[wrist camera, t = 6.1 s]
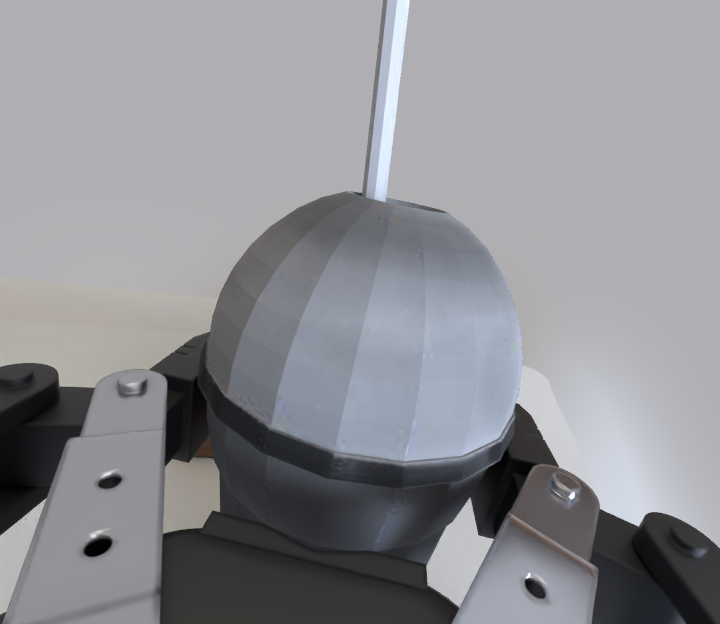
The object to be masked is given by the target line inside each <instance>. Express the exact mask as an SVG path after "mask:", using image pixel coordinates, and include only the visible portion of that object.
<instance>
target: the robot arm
mask: <svg viewBox="0 0 720 624" xmlns="http://www.w3.org/2000/svg"><path fill="white" fill-rule="evenodd" d="M209 336H210V332H208V333H205V334H202V335H199V336H196V337H193V338H192V339H191V340H189V341H188V342H187V343H185V344H184V345H183V346H181V347H180V348H178V349H177V350H175V353H171V354H170V355H169V356H167V357H166V358H164V359H163V360H162V361H160V362H159V363H158V364H156V365H155V366H153V367H152V368H151V369H149V370H143V369H133V370H124V371H120V372H116V373H113V374H111V375H108V376H106V377H104V378H103V379H102V380H100V381H99V382H98V383H97V385H96V387H95V388H83V387H59V377H58V372H57V370H56V369H55V368H53V367H51V366H48V365H44V364H37V363H21V364H13V365H7V366H2V367H0V535H1V534H3V533H4V532H5V531H6V530H8V529H9V528H10V527H11V526H12V525H14V524H15V523H16V522H17V521H19V520H20V519H21V518H22V517H24V516H25V515H26V514H27V513H28V512H30V511H31V510H32V509H33V508H35V507H36V506H37V505H38V504H39V503H41V502H42V501H43V500H44V499H46V498H47V499H46V502H45V505H44V507H43V510H42V513H41V516H40V519H39V521H38V524H37V527H36V530H35V533H34V536H33V538H32V541H31V544H30V547H29V550H28V553H27V555H26V558H25V561H24V564H23V567H22V569H21V572H20V575H19V578H18V581H17V584H16V586H15V589H14V592H13V595H12V598H11V601H10V603H9V606H8V609H7V612H5V613H3V614H1V615H0V624H591V623H592V624H720V548H719V547H717V545H716V544H715V543H713V542H712V541H711V540H710V539H709V538H707V537H706V536H705V535H704V534H703V533H701V532H700V531H698V530H697V529H695V528H694V527H692V526H691V525H689V524H687V523H685V522H683V521H682V520H679V519H677V518H675V517H673V516H670V515H667V514H663V513H657V512H651V513H648V514H647V515H645V517H644V519H643V521H642V522H641V524H640V526H639V527H638V526H636V525H633V524H631V523H629V522H627V521H624V520H622V519H620V518H618V517H616V516H614V515H611V514H609V513H607V512H605V511H603V510H601V509H600V504H599V500H598V498H597V496H596V495H595V493H594V492H593V491H592V489H591V488H590V487H589V486H588V485H587V484H586V483H584V482H583V481H582V480H581V479H579V478H578V477H576V476H575V475H573V474H572V473H570V472H568V471H566V470H564V469H561V468H559V466H558V464H557V462H556V460H555V459H554V457H553V455H552V453H551V451H550V449H549V448H548V446H547V444H546V442H545V440H543V437H542V435H541V433H540V431H539V430H537V428H538V427H537V426H536V424H535V422H534V420H533V418H532V416H531V415H530V414H529V413H528V412H527V411H526V410H525V409H523V408H522V407H521V406H520V405H519V404H515V407H514V413H515V427H514V435H513V437H512V439H511V440H510V442H509V444H508V446H507V448H506V450H505V452H504V454H503V455H502V457H501V459H500V461H498V462H496V463H495V464H493V465H491V466H489V467H488V469H487V471H486V472H485V474H484V476H483V478H482V479H481V481H480V483H479V485H478V487H477V488H476V489H475V491H474V492H473V494H472V495H471V496H470V497H471V502H472V506H473V511H474V516H475V521H476V526H477V530H478V535H480V536H484V537H488V538H492V539H494V541H493V543H492V545H491V547H490V549H489V551H488V553H487V555H486V557H485V559H484V561H483V563H482V565H481V567H480V568H479V570H478V572H477V574H476V576H475V578H474V580H473V582H472V584H471V586H470V588H469V590H468V592H467V594H466V596H465V598H464V600H463V602H462V604H461V606H460V608H459V607H458V606H457V605H455V604H454V603H453V602H452V601H450V600H449V599H448V598H447V597H445V596H444V595H442V594H441V593H439V592H438V591H436V590H435V589H433V588H431V587H430V586H428V585H427V571H426V564H423V563H419V562H415V561H411V560H407V559H403V558H399V557H395V556H391V555H387V554H383V553H380V552H376V551H319V550H313V549H311V548H309V547H307V546H305V545H303V544H301V543H299V542H298V541H296V540H294V539H292V538H290V537H288V536H286V535H285V534H283V533H281V532H279V531H277V530H275V529H273V528H271V527H270V526H268V525H266V524H264V523H260V522H256V521H252V520H248V519H244V518H240V517H236V516H232V515H228V514H224V513H220V512H216V511H212V512H211V514H210V516H209V517H208V519H207V521H206V522H205V524H204V526H203V528H195V529H185V530H178V531H173V532H169V533H165V534H163V514H164V481H165V466H166V465H167V464H168V463H169V462H170V460H171V459H175V460H179V461H183V462H188V463H189V462H190V460H191V459H192V458H193V456H194V455H195V454H196V453H197V451H198V450H199V449H200V447H201V446H202V445H203V444H204V442H205V441H206V440H207V438H208V437H209V436H210V435H209V429H208V424H207V418H206V416H207V400H206V399H205V397H204V395H203V393H202V392H201V390H200V388H199V386H198V385H197V384H198V372H199V360H200V355H201V352H202V349H203V346H204V344H205V341H206V340H207V339H208V338H209Z"/></svg>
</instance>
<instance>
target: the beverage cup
mask: <svg viewBox="0 0 720 624" xmlns="http://www.w3.org/2000/svg"><path fill="white" fill-rule="evenodd" d="M409 2H410V0H383V8H382V16H381V25H380V35H379V44H378V53H377V62H376V72H375V81H374V90H373V99H372V108H371V118H370V127H369V136H368V146H367V155H366V164H365V173H364V182H363V192H362V193H358V192H351V191H346V192H342V193H338V194H334V195H330V196H325V197H322V198H319V199H317V200H315V201H312V202H310V203H308V204H306V205H304V206H301V207H299V208H297V209H296V210H294V211H293V212H291V213H290V214H288V215H287V216H285V217H284V218H282V219H281V220H280V221H278V222H276V223H275V224H274V225H272V226H271V227H269V228H268V230H266V231H265V232H264V233H263V234H262V235H261V236H260V237H259V238H258V239H257V240H256V241H255V242H253V243H252V244H251V245H250V247H249V248H248V249H247V251H246V252H245V253H244V255H243V256H242V257H241V259H240V260H239V261H238V262H237V264H236V265H235V266H234V268H233V270H232V271H231V273H230V275H229V277H228V279H227V281H226V283H225V285H224V287H223V288H222V290H221V293H220V296H219V299H218V302H217V305H216V308H215V311H214V314H213V317H212V324H211V330H210V336H209V338H208V339H207V340H206V341H205V344H204V346H203V349H202V352H201V355H200V360H199V372H198V384H197V385H198V386H199V388H200V390H201V392H202V393H203V395H204V397H205V399H206V400H207V416H206V418H207V424H208V429H209V435H210V441H211V447H212V452H213V458H214V461H215V463H216V465H217V467H218V469H219V471H220V513H224V514H228V515H232V516H236V517H240V518H244V519H248V520H252V521H256V522H260V523H264V524H266V525H268V526H270V527H271V528H273V529H275V530H277V531H279V532H281V533H283V534H285V535H286V536H288V537H290V538H292V539H294V540H296V541H298V542H299V543H301V544H303V545H305V546H307V547H309V548H311V549H313V550H319V551H376V552H380V553H383V554H387V555H391V556H395V557H399V558H403V559H407V560H411V561H415V562H419V563H423V564H426V565H427V563H428V561H429V559H430V558H431V556H432V554H433V552H434V550H435V548H436V546H437V544H438V542H439V540H440V538H441V536H442V534H443V532H444V530H445V528H446V526H447V525H449V524H450V523H452V522H453V520H454V519H455V517H456V516H457V515H458V513H459V512H460V510H461V509H462V508H463V506H464V505H465V503H466V502H467V501H468V499H469V498H470V496H471V495H472V494H473V492H474V491H475V489H476V488H477V487H478V485H479V483H480V481H481V479H482V478H483V476H484V474H485V472H486V471H487V469H488V467H489V466H491V465H493V464H495V463H496V462H498V461H500V459H501V457H502V455H503V454H504V452H505V450H506V448H507V446H508V444H509V442H510V440H511V439H512V437H513V435H514V427H515V413H514V407H515V404H516V400H517V397H518V393H519V390H520V382H521V373H522V364H523V360H522V343H521V332H520V327H519V322H518V318H517V314H516V309H515V305H514V302H513V299H512V297H511V294H510V292H509V289H508V287H507V285H506V282H505V279H504V277H503V274H502V272H501V270H500V268H499V267H498V265H497V264H496V262H495V261H494V259H493V257H492V256H491V254H490V253H489V251H488V249H487V248H486V247H485V246H484V245H483V244H482V243H481V241H480V240H479V239H478V238H477V237H476V236H475V235H474V234H473V233H472V231H471V230H470V229H468V228H467V227H466V226H465V225H463V224H462V223H461V222H460V221H458V220H457V219H456V218H454V217H453V216H452V215H450V214H449V213H447V212H445V211H441V210H438V209H434V208H430V207H426V206H422V205H418V204H414V203H409V202H404V201H400V200H395V199H390V198H386V193H387V184H388V176H389V168H390V159H391V151H392V141H393V135H394V126H395V118H396V110H397V101H398V93H399V84H400V75H401V68H402V60H403V52H404V43H405V34H406V27H407V18H408V10H409Z"/></svg>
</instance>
